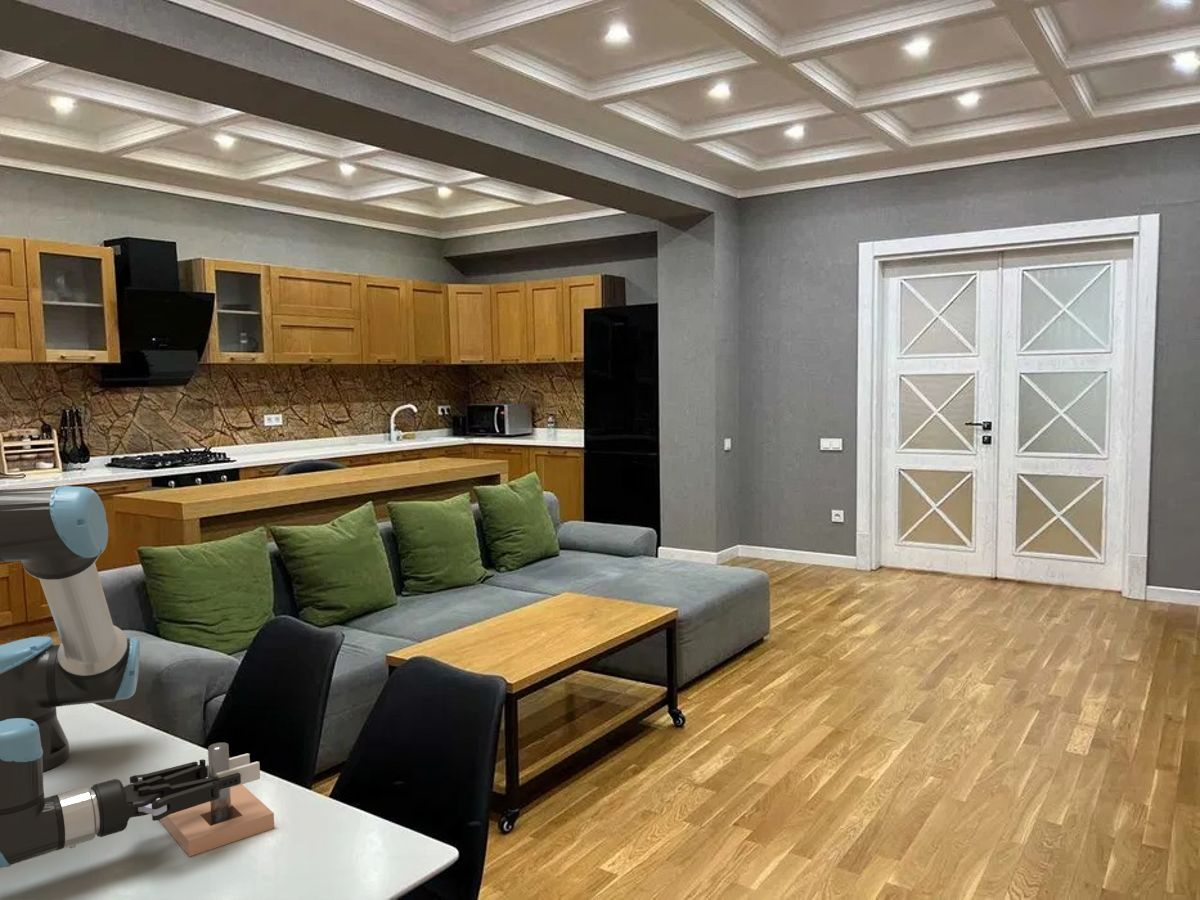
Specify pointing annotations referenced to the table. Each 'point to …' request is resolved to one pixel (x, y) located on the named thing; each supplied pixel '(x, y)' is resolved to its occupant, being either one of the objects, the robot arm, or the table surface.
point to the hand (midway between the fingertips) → (253, 765)
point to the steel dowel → (222, 805)
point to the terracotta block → (201, 836)
